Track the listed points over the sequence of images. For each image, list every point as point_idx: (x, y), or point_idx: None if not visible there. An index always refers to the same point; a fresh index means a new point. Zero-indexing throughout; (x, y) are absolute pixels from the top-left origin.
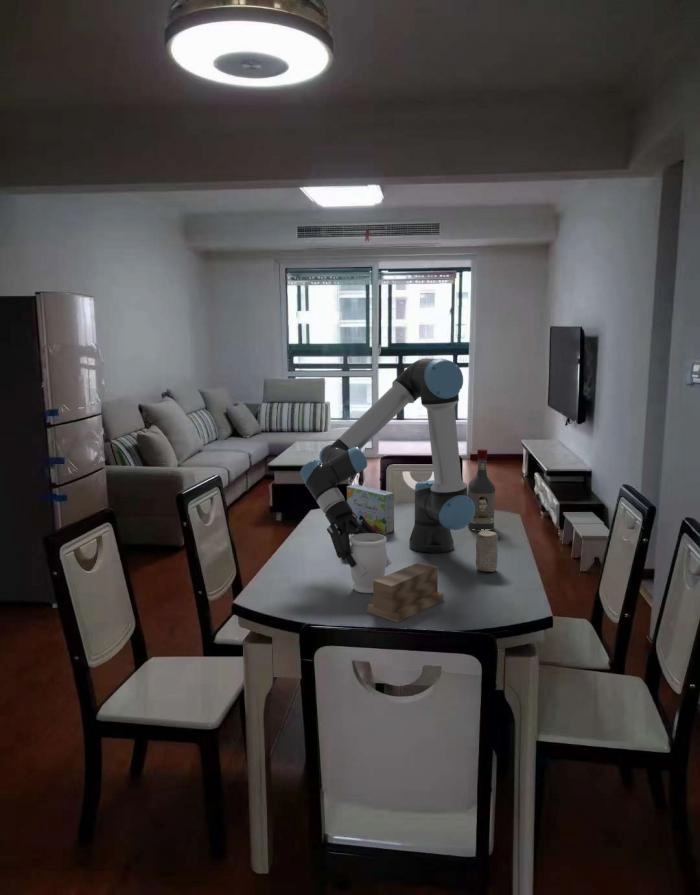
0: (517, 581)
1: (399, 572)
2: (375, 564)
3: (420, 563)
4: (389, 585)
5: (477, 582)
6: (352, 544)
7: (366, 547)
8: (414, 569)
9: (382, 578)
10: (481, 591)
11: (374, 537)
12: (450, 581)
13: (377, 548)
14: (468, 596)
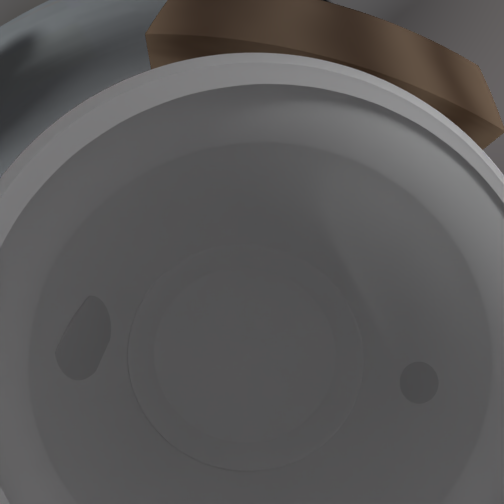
0: (8, 34)
1: (368, 56)
2: (347, 232)
3: (168, 25)
4: (481, 72)
5: (20, 72)
6: (467, 489)
7: (489, 266)
8: (280, 17)
9: (471, 105)
10: (82, 36)
11: (12, 435)
12: (22, 120)
13: (375, 169)
14: (130, 36)
